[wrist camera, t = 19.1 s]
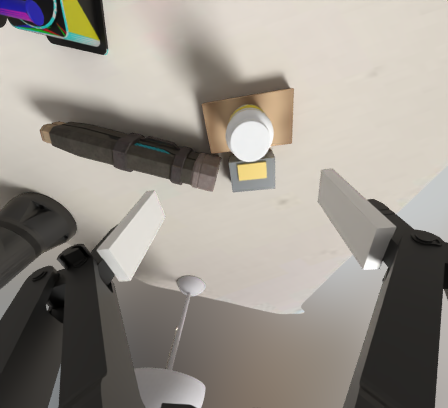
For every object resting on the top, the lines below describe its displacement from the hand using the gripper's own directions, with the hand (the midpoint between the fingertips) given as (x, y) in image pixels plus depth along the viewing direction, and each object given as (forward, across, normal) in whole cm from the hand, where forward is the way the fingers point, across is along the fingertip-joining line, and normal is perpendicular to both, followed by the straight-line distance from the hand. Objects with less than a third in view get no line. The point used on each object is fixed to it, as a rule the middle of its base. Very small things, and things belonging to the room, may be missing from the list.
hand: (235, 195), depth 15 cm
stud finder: (+23, +2, -7) cm, 24 cm away
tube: (+23, -18, 0) cm, 29 cm away
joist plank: (+22, +2, +2) cm, 23 cm away
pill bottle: (+20, +2, +2) cm, 20 cm away
